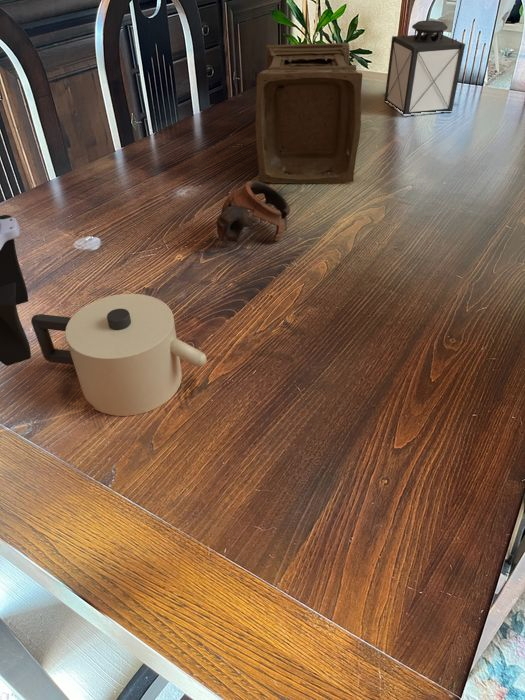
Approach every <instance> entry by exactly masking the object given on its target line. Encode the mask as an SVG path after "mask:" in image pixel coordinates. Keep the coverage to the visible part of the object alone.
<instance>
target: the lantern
mask: <svg viewBox="0 0 525 700" xmlns="http://www.w3.org/2000/svg"><path fill="white" fill-rule="evenodd" d="M462 1H463V0H460V1H459V8H458V11H457V14H456V19H455V23H454V28H453V32H452V38H451V37H450V36H447V35H444V32H445V31H446V30H448V28H449V27H448V25H447V24H446V23H445V22H443V21H441V20H432V19H431V20H419V21H417V22H415V23H414V24H412V27H411V28H412V29H414V34H410V35H405V31H406V25H407V18H408V13H409V12H408V10H409V6H410V5H409V4H410V0H407V5H406V12H405V20H404V27H403V33H402V35H393V36H391V43H390V52H389V61H388V68H387V76H386V83H385V85H386V86H385V92H384V101H388V102H389V103H391V104H392V105H394V106H395V107H396V108H398V109H399V110H400V111H402V112H403V114H411V113H421V112H436V111H452V112H453V109H454V103H455V99H456V95H457V88H458V83H459V78H460V72H461V69H462V63H463V57H464V53H465V49H466V43H464V42H461V41H459V40H456V39H455V38H454V36H455V32H456V28H457V24H458V20H459V19H458V18H459V16H460V10H461V7H462Z"/></svg>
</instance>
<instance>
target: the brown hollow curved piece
mask: <svg viewBox="0 0 525 700" xmlns="http://www.w3.org/2000/svg"><path fill="white" fill-rule="evenodd" d="M256 195H264V196H263V197H264V199H265V202H263V201H261V200H260V199H259V198H258V197H257V196H256ZM268 204H269V205H268ZM270 205H271V206H273V207H274V208H273V207H271V206H270ZM249 211H251V212H252V214H251V216H252V217H255V218H258V219H260V221H264V222H268V223H269V224H270V225H273V226H276V231H275V233H274V235H273V241H274V242H280V240H281V239H282V237H283V236H284V233H285V232H286V231H287V227H288V215H289V214H290V212H291V206H290V204H289V203H288V202H287V200H286V198H284V196H283V195H282V194H281V193H280V192H278V191H277V190H276V189H275V188H273V187H271V186H270V185H268V184H266V183H264V182H262V181H258V180H248V181H246V182H245V184H244V186H243V187H240V188H238V189H237V188H236V190H234V191H232V192H231V193H230V194H229V195H228V196H227V198H226V199H225V200H224V203H223V205H222V208H221V211H220V214H219V215H218V216H217V218H216V223H215V224H216V233H217V236H218V237H219V239H220V240H221V241H225V238H226V240H227V241H228V242H234V243H238V242H239V240H240V236H241V234H242V231H243V230H244V229H245V226H247V224H248V222H249V218H250V212H249Z"/></svg>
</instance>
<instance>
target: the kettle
mask: <svg viewBox="0 0 525 700" xmlns="http://www.w3.org/2000/svg"><path fill="white" fill-rule="evenodd" d="M174 317H175V316H174V313H173V312H172V310H171V308H170V306H169V305H168V304H166V303H165V302H164V301H162V300H161V299H160V298H159V299H158V298H156V297H154V296H150V295H147V294H142V293H121V294H119V293H118V294H114V295H109V296H105V297H102V298H99V299H96V300H94V301H92V302H90V303H88V304H86V305H85V306H82V307H81V308H80V309H78V310H77V311H76V312H75V313H74V314H73V315H72V316H71V317H70V316H61V315H52V314H43V313H38V314H34V315H33V316H32V317H31V320H30V323H31V325H32V328H33V331H34V333H35V334H34V335H35V336H36V340H37V342H38V345H39V348H40V351H41V353H42V356H43V359H44V360H45V361H47V362H49V363H53V364H54V363H55V364H61V365H62V364H63V365H72V366H74V369H75V372H76V375H77V378H78V381H79V385H80V389H81V391H82V394H83V397H84V399H85V400H86V401H87V402H88V403H89V404H90V405H91V406H92V408H93V409H95V410H96V411H98V412H100V413H103V414H106V415H110V416H116V417H129V416H130V417H131V416H136V415H141V414H145V413H148V412H151V411H153V410H156V409H158V408H159V407H161V406H162V405H164V404H166V403H167V402H168V401H170V400H171V398H173V397H174V395H175V394H176V393H177V392H178V390H179V388H180V386H181V383H182V379H183V371H182V365H181V360H183V361H185V362H188V364H191V365H193V366H194V367H197V368H201V367H203V366H205V364H207V361H208V359H207V355H206V354H205V353H204V352H203V351H201V350H199V349H197V348H195V347H194V346H192V345H190V344H188V343H186V342H184V341H183V340H181V339H179V338H177V332H176V325H175V318H174ZM51 330H52V331H60V332H65V333H64V336H65V340H66V344H67V348H68V349H61V348H55V346H54V343H53V340H52V335H51V333H50V331H51Z"/></svg>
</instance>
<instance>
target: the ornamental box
mask: <svg viewBox="0 0 525 700" xmlns="http://www.w3.org/2000/svg"><path fill="white" fill-rule="evenodd" d="M265 52H266V53H265V68H266V69H265V70H262V71H261V72H260V71H259V73H257V75H256V97H255V145H256V154H257V163H258V178H257V181H258V182H262V183H264V182H267V183H279V184H298V185H299V184H300V185H309V184H312V185H314V184H327V183H328V184H330V183H354V181H355V168H356V160H357V155H358V148H359V143H360V138H361V127H362V87H363V86H362V84H363V73H362V72H358V71H357V65H356V64H350V58H351V57H350V55H351V54H350V53H351V50H350V43H348V42H334V43H331V42H330V43H329V42H328V43H296V44H295V43H293V44H292V43H290V44H271V45H270V44H266V45H265Z"/></svg>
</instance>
